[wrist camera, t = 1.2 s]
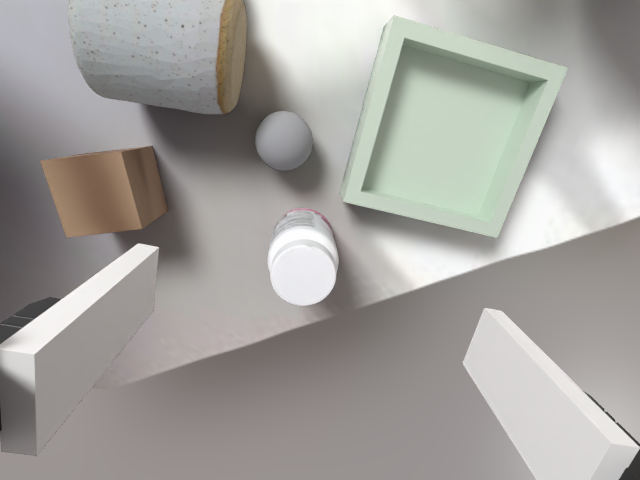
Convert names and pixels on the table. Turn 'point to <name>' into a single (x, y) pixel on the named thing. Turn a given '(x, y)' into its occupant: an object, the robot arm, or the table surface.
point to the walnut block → (106, 190)
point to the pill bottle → (303, 257)
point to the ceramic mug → (162, 51)
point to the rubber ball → (283, 140)
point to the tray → (447, 127)
